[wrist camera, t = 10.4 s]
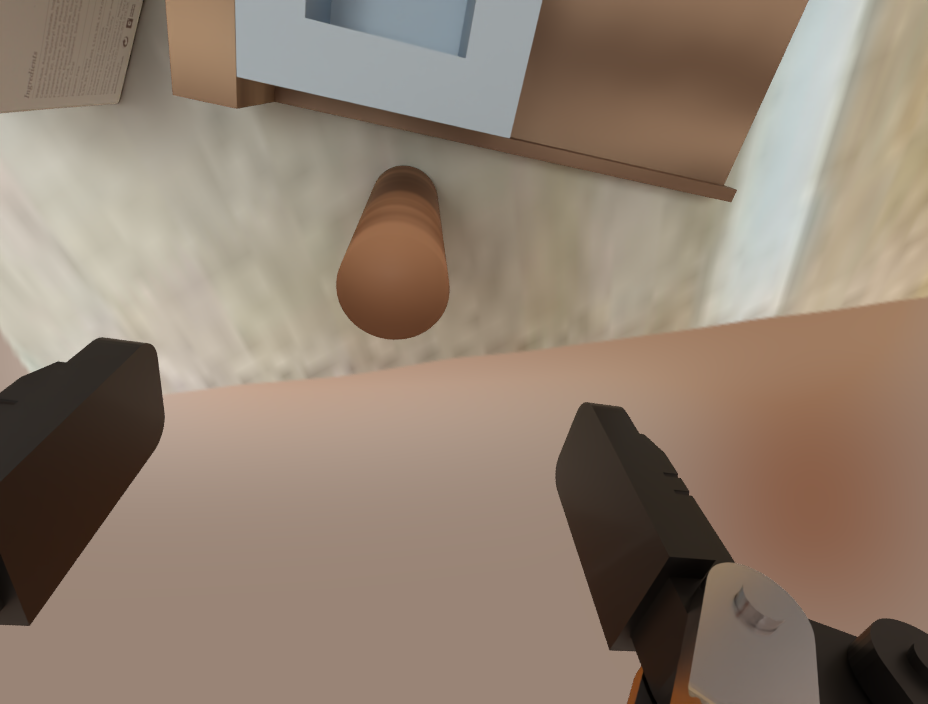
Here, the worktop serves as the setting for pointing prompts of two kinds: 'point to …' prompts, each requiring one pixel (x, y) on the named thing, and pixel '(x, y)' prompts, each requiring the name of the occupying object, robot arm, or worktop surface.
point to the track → (571, 84)
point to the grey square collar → (395, 54)
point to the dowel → (396, 259)
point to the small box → (64, 52)
